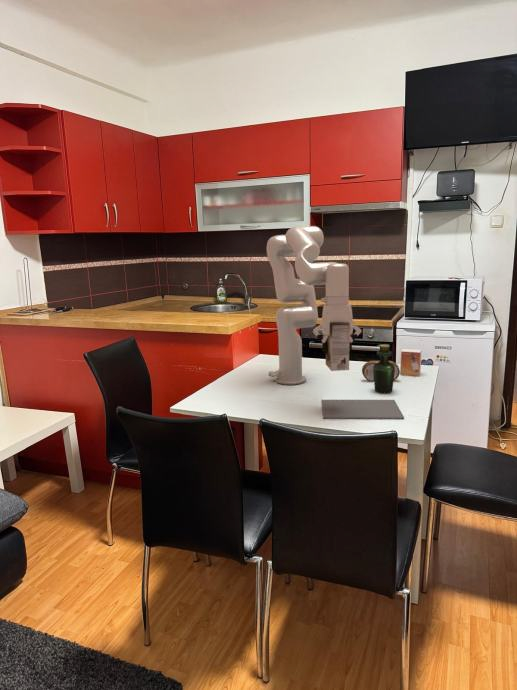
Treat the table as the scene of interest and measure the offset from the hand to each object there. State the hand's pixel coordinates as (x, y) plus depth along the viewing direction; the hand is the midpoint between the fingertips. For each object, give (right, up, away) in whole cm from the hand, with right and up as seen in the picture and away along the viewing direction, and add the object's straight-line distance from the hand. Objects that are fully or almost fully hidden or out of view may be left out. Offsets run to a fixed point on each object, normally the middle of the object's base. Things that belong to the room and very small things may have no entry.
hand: (337, 353), depth 166 cm
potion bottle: (+21, -15, +22) cm, 35 cm away
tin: (+24, -12, +36) cm, 45 cm away
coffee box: (0, -5, +1) cm, 5 cm away
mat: (+9, -20, +3) cm, 22 cm away
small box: (+39, -10, +44) cm, 60 cm away
